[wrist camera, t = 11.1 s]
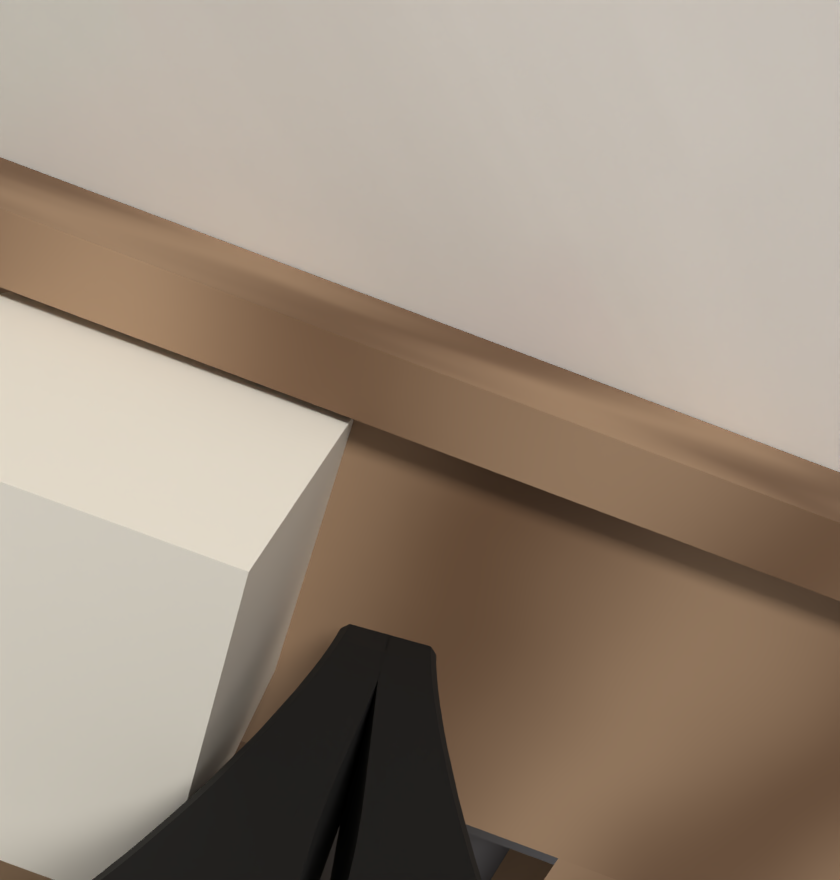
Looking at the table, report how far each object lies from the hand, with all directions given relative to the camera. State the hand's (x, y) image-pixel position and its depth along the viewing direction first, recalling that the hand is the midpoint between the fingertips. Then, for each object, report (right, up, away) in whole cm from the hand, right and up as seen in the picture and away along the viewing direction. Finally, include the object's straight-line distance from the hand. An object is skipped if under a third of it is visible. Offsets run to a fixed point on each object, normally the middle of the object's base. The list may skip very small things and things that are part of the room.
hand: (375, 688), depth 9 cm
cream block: (-3, +3, +1) cm, 4 cm away
